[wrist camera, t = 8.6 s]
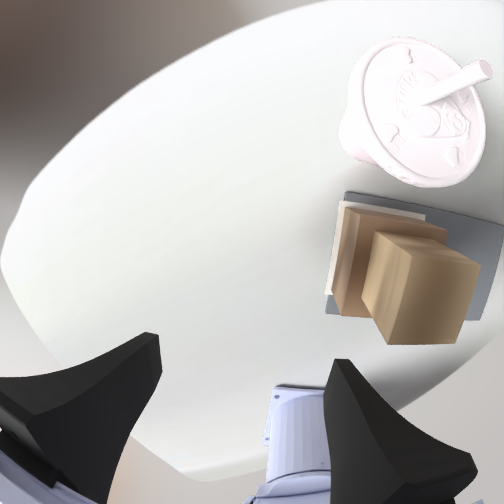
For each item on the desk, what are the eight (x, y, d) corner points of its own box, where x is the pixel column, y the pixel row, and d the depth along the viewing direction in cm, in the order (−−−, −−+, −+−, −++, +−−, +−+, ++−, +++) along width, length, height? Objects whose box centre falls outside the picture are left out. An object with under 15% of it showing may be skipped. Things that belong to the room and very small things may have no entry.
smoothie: (331, 80, 16) (400, -52, 3) (412, 114, 16) (554, 64, 3) (308, 163, 18) (372, 132, 5) (392, 194, 18) (545, 238, 4)
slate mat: (477, 318, 19) (480, 320, 19) (320, 310, 21) (320, 313, 20) (502, 226, 17) (505, 227, 16) (339, 190, 18) (341, 191, 18)
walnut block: (403, 296, 19) (424, 320, 15) (331, 289, 20) (340, 315, 16) (420, 219, 18) (448, 230, 14) (344, 206, 18) (360, 215, 14)
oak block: (433, 239, 14) (481, 265, 9) (417, 301, 15) (454, 343, 10) (374, 230, 14) (412, 256, 10) (361, 297, 15) (387, 344, 11)
